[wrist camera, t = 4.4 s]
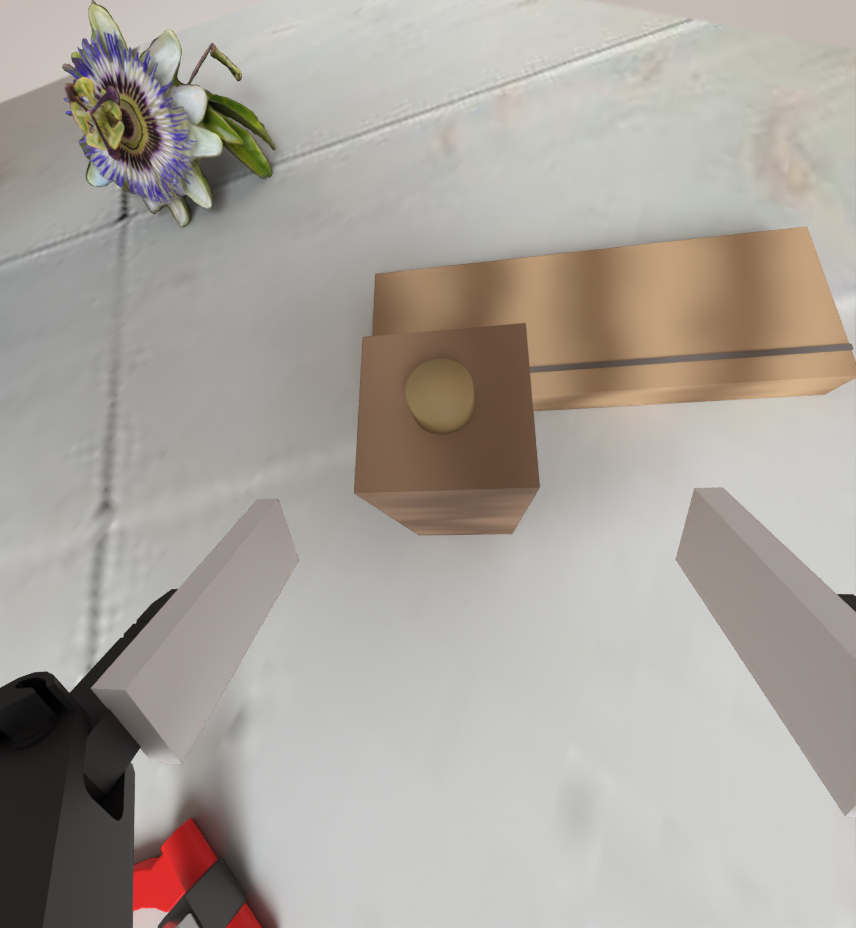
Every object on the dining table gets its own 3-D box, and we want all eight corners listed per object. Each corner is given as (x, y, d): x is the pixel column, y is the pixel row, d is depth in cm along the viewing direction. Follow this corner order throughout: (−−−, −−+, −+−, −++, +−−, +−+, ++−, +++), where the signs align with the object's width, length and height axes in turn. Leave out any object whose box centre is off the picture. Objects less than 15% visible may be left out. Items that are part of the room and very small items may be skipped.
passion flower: (231, 270, 36) (53, 203, 27) (227, 165, 37) (55, 67, 28) (292, 198, 29) (74, 73, 20) (285, 70, 30) (76, -103, 21)
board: (378, 420, 23) (368, 405, 21) (383, 296, 26) (375, 272, 24) (824, 394, 20) (862, 374, 18) (780, 255, 23) (808, 224, 21)
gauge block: (419, 535, 21) (341, 484, 10) (419, 448, 23) (352, 316, 11) (512, 533, 20) (545, 477, 9) (506, 444, 22) (529, 299, 10)
